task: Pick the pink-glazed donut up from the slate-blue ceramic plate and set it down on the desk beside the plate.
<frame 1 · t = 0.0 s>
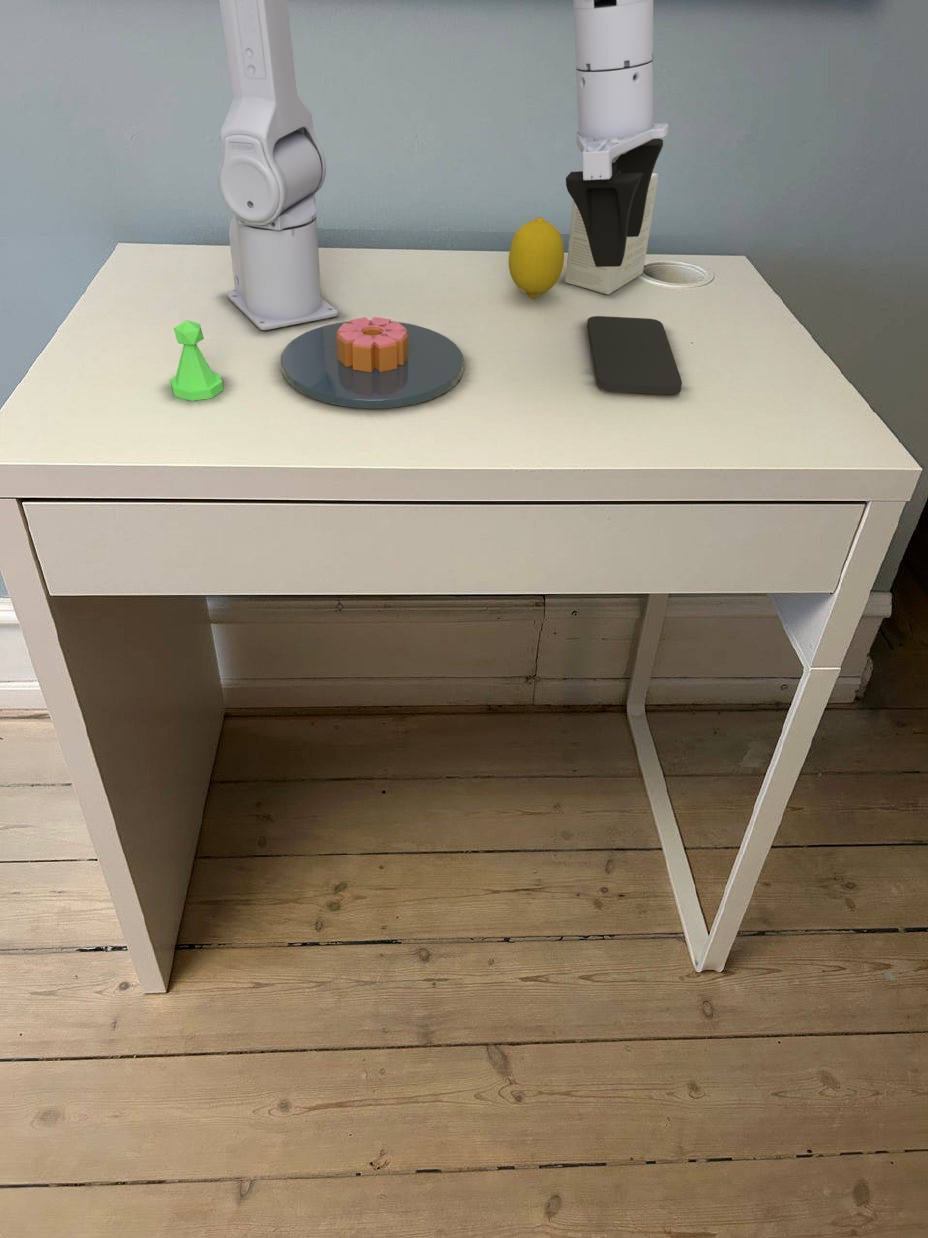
hand: (618, 250, 80), 11 cm above the table, tool pointing down, fingers open, 7 cm apart
phone: (630, 359, 88), on the table
donut: (372, 356, 84), point 1 cm above the table, touching plate
game piece: (197, 390, 80), on the table
plate: (373, 367, 85), on the table
small box: (603, 280, 103), on the table
lemon: (532, 299, 98), on the table
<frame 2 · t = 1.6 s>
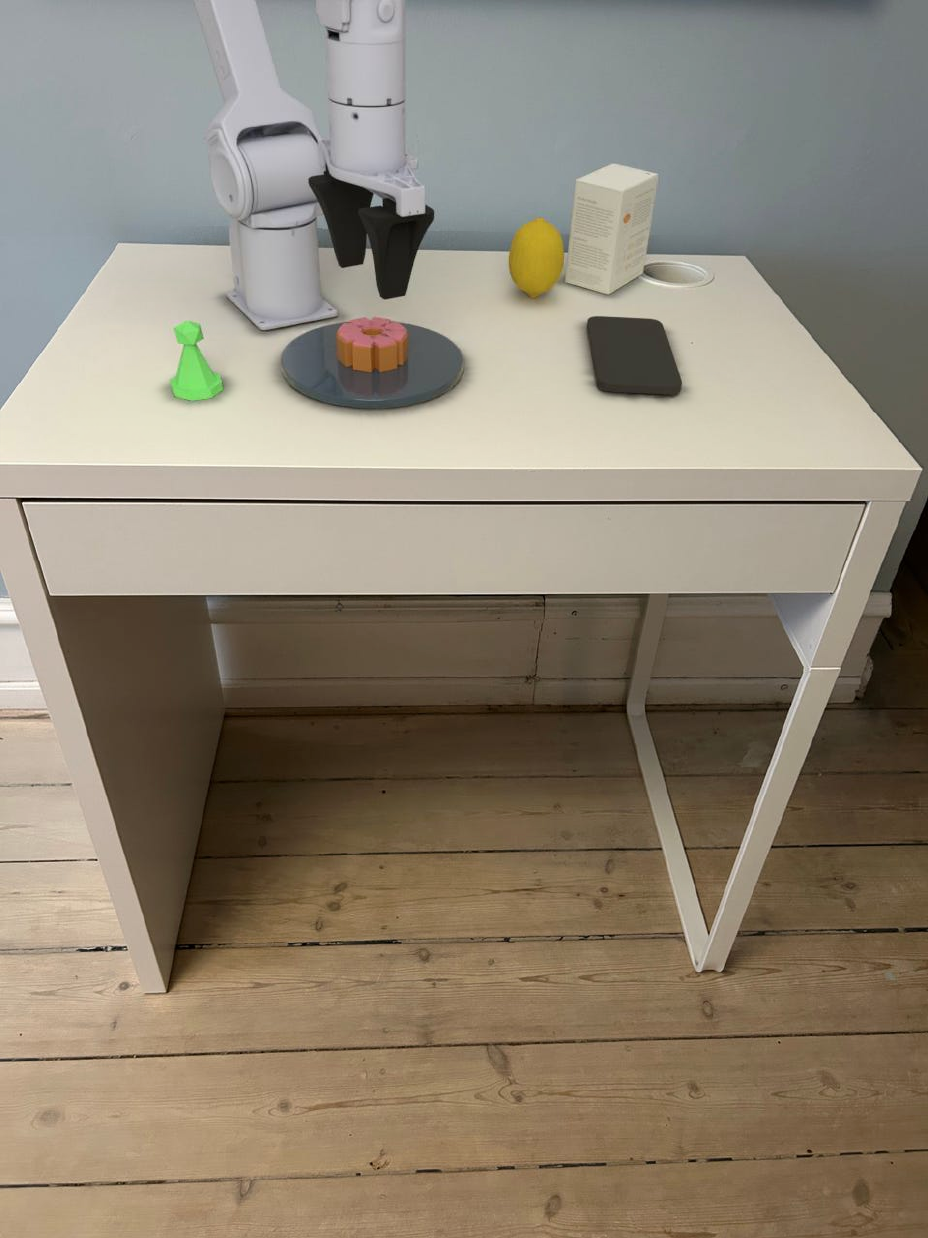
hand: (371, 280, 80), 8 cm above the table, tool pointing down, fingers open, 7 cm apart
nothing on the table moved.
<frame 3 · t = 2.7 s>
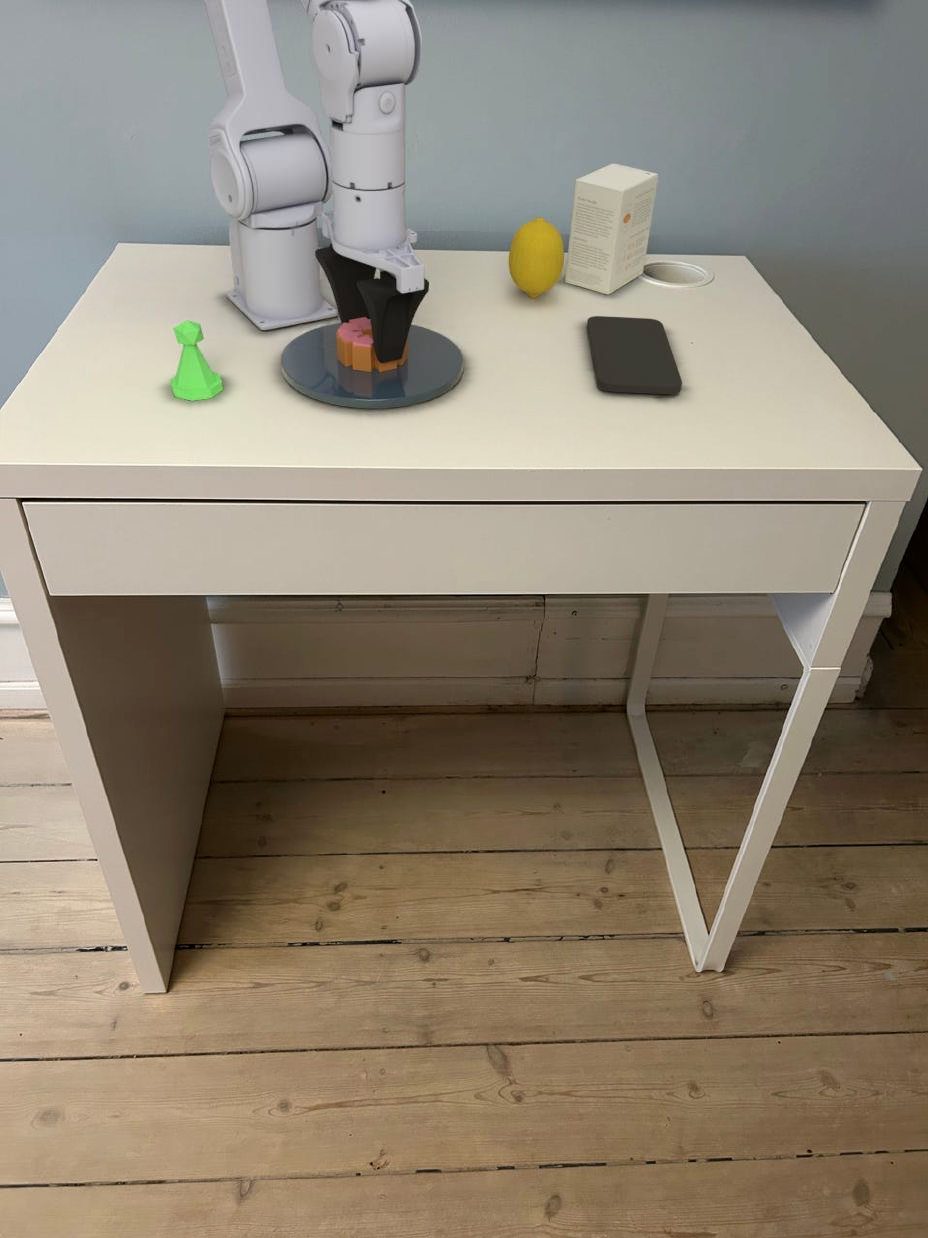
hand: (372, 344, 83), 2 cm above the table, tool pointing down, fingers closed on donut, 6 cm apart
donut: (372, 356, 84), point 1 cm above the table, touching gripper, plate
everything else where it was.
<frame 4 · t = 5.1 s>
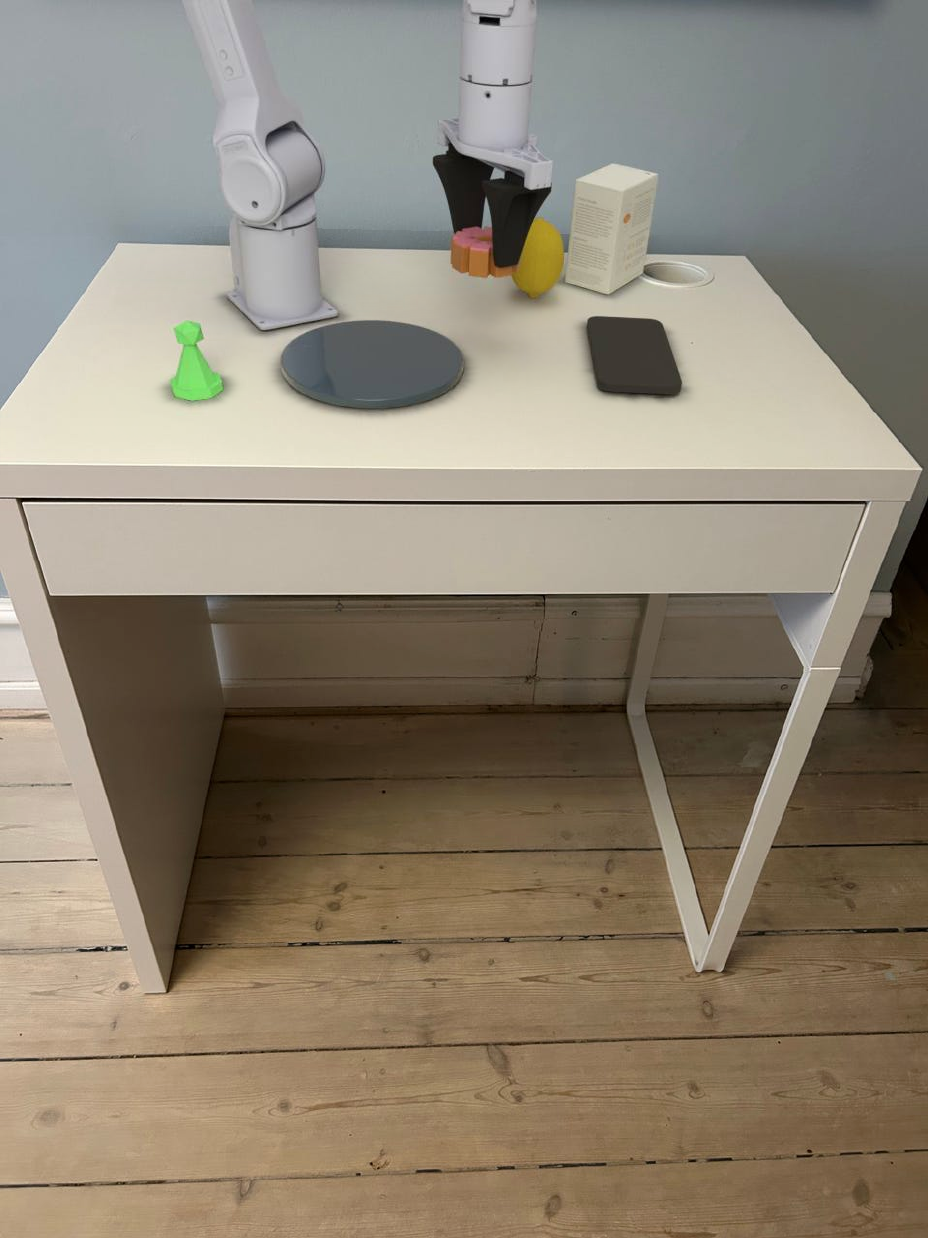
hand: (486, 252, 84), 8 cm above the table, tool pointing down, fingers closed on donut, 6 cm apart
donut: (485, 265, 85), point 7 cm above the table, touching gripper
everything else where it was.
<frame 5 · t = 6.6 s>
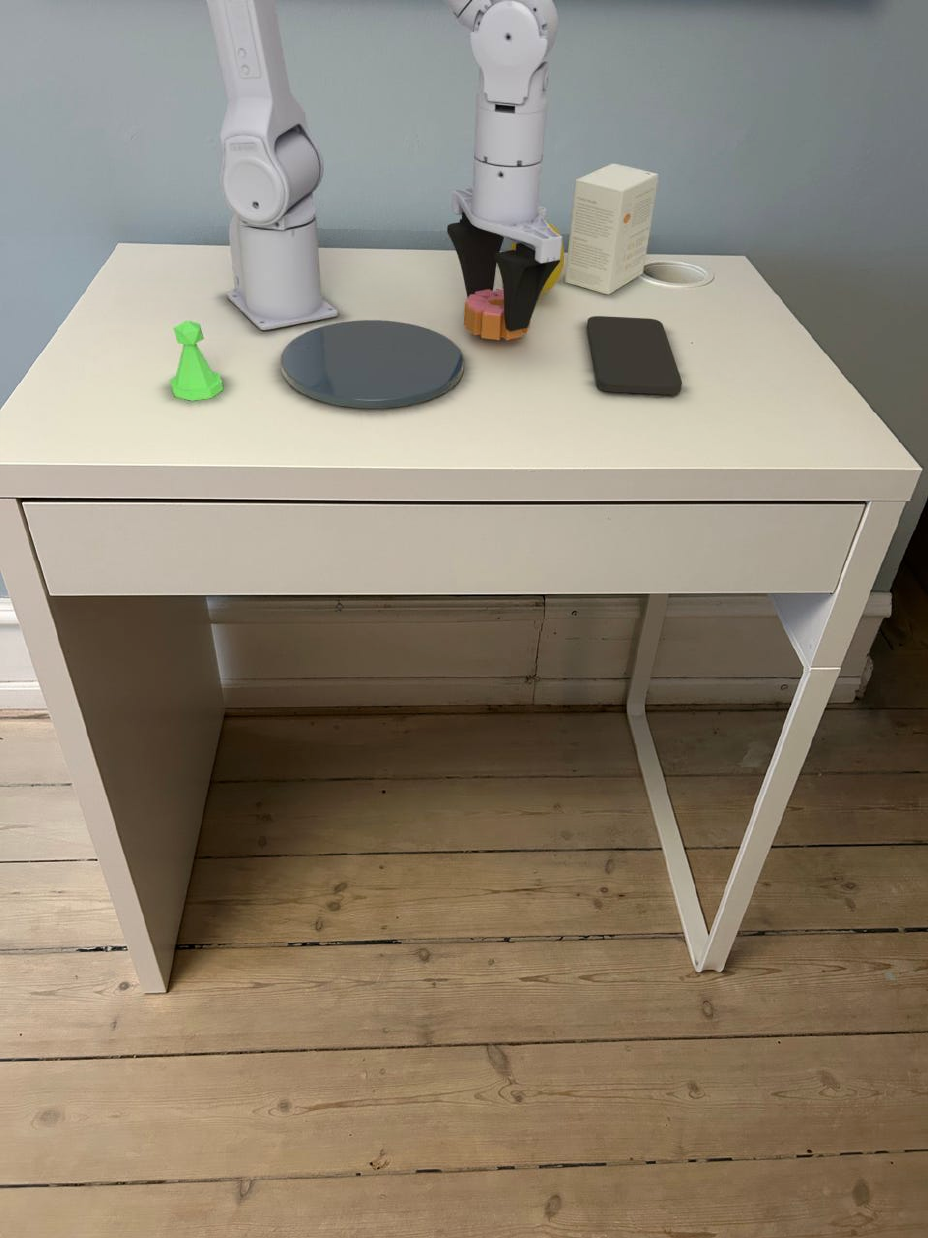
hand: (498, 315, 88), 2 cm above the table, tool pointing down, fingers closed on donut, 6 cm apart
donut: (496, 326, 89), point 1 cm above the table, touching gripper
everything else where it was.
when the fingers open (1 cm above the table, at t = 7.6 s): donut stays where it is, on the table.
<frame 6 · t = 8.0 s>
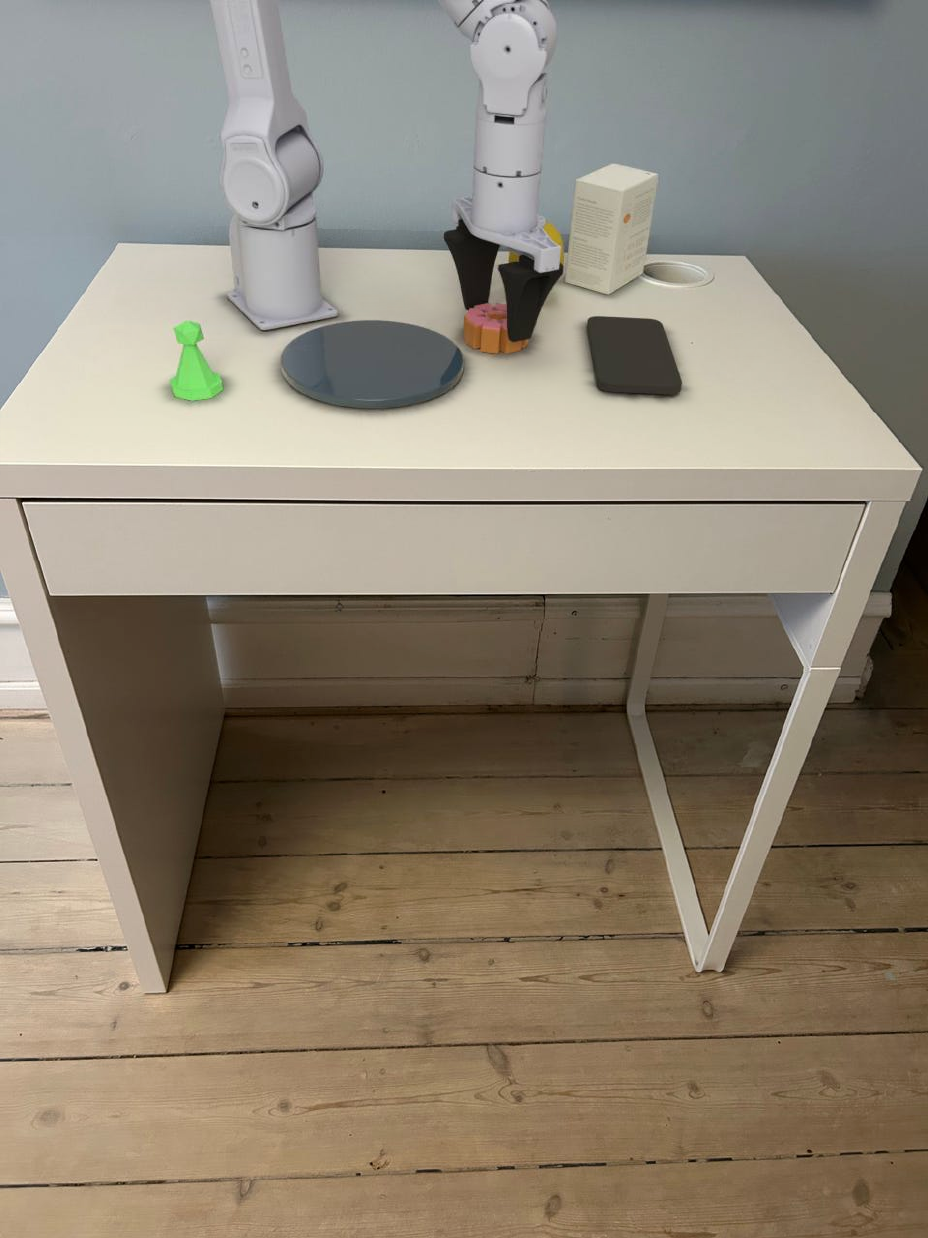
hand: (497, 323, 89), 2 cm above the table, tool pointing down, fingers open, 7 cm apart
donut: (496, 339, 90), on the table
everything else where it was.
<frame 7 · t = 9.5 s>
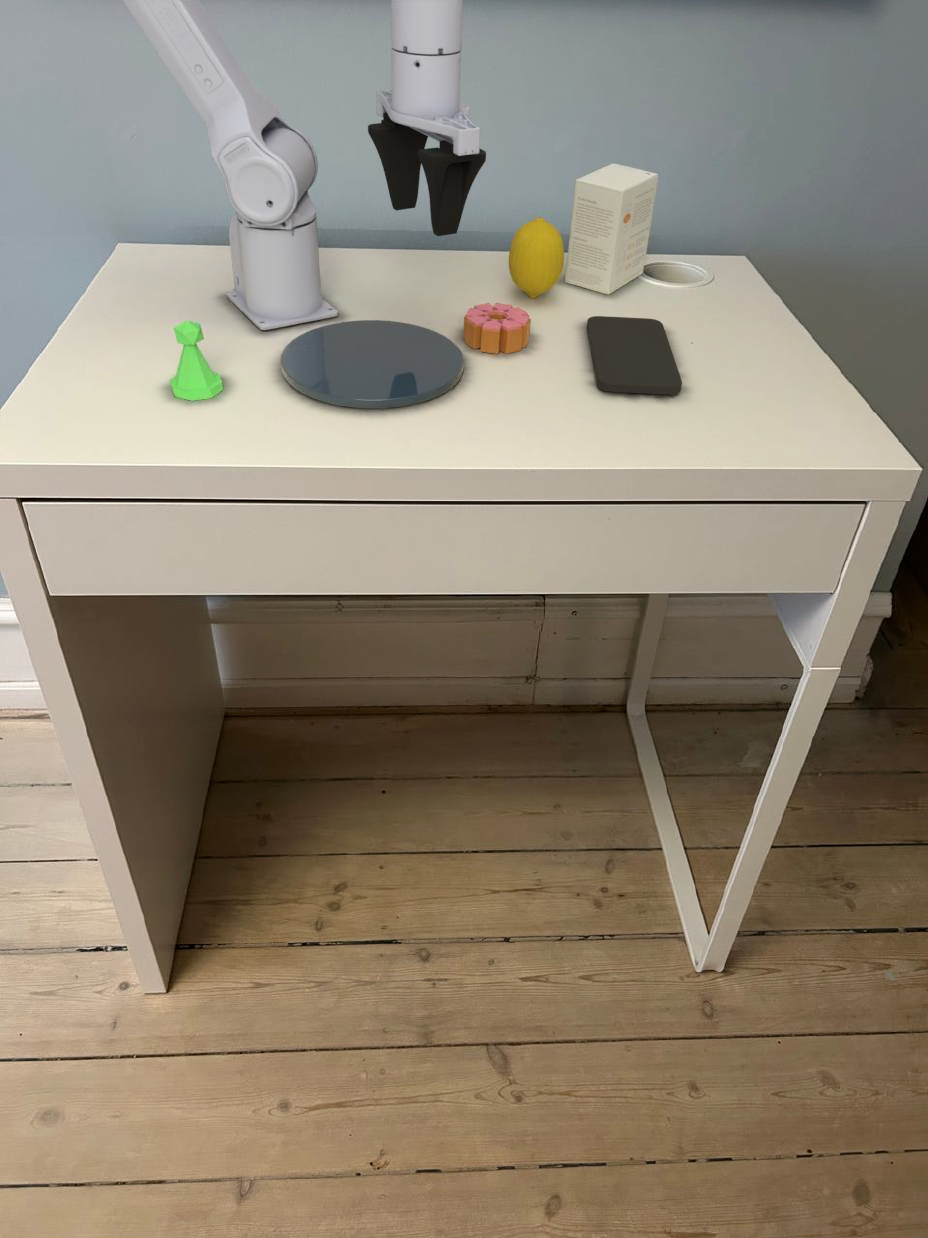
hand: (424, 220, 87), 9 cm above the table, tool pointing down, fingers open, 7 cm apart
nothing on the table moved.
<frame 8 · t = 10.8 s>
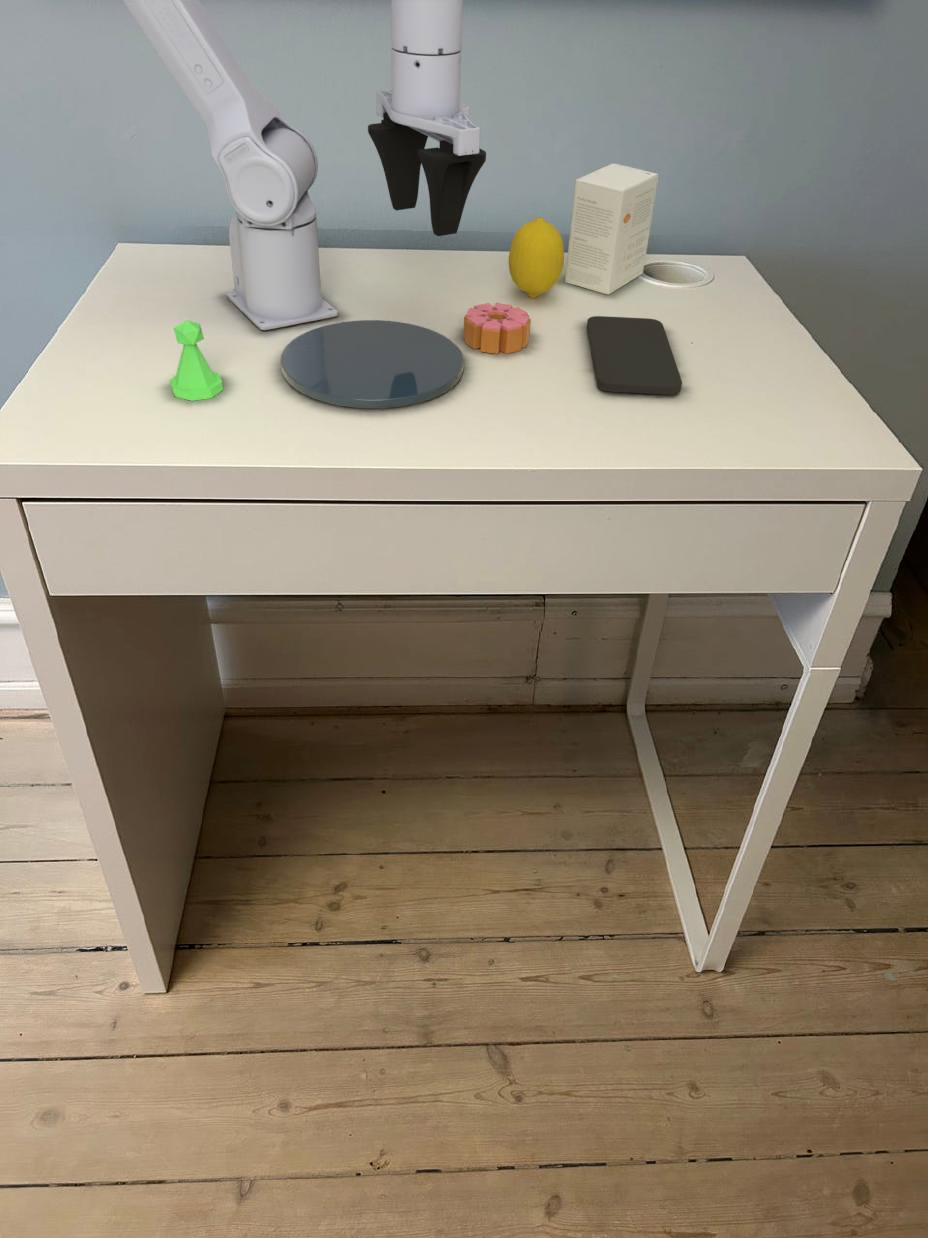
hand: (424, 220, 87), 9 cm above the table, tool pointing down, fingers open, 7 cm apart
nothing on the table moved.
at the end: donut inside the target area (0.0 cm from its centre), on the table; donut touching table; donut tilted 0° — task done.
